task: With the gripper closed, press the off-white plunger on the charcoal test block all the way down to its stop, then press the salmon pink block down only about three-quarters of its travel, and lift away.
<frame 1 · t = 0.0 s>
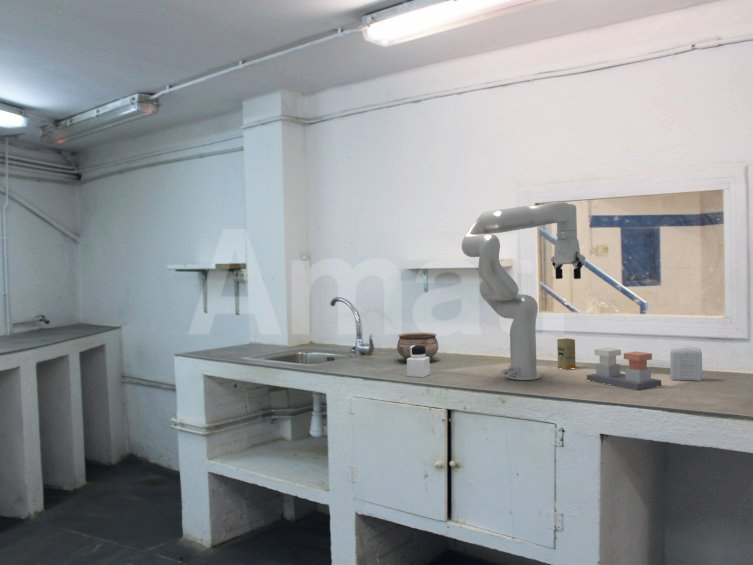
hand: (568, 278, 247), 37 cm above the countertop, tool pointing down, fingers open, 9 cm apart
shoe polish box: (566, 369, 254), on the countertop
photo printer: (686, 380, 223), on the countertop
salmon pink block: (637, 362, 215), point 8 cm above the countertop, slide at 0.0 cm
medicine bottle: (418, 376, 249), on the countertop
white plunger: (607, 357, 227), point 8 cm above the countertop, slide at 0.0 cm
cooking pot: (418, 361, 286), on the countertop
test block: (622, 383, 221), on the countertop
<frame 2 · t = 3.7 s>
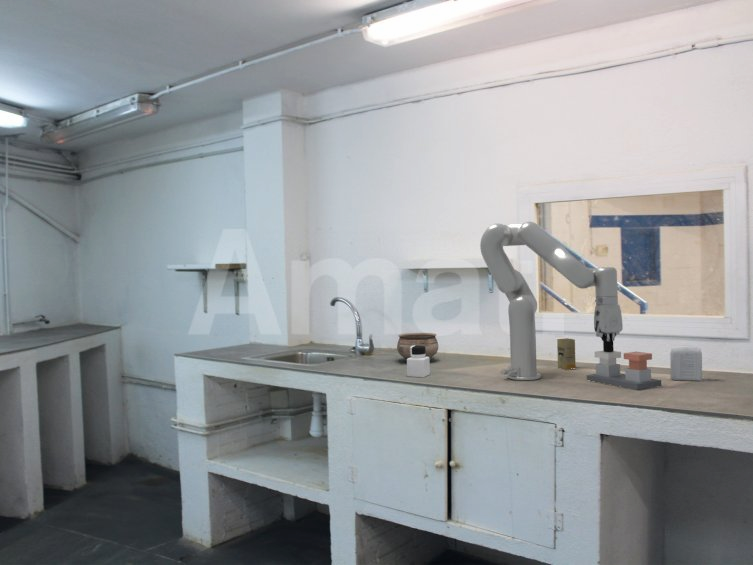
hand: (608, 351, 226), 10 cm above the countertop, tool pointing down, fingers closed
white plunger: (607, 360, 227), point 7 cm above the countertop, slide at 0.9 cm, touching gripper
everything else where it was.
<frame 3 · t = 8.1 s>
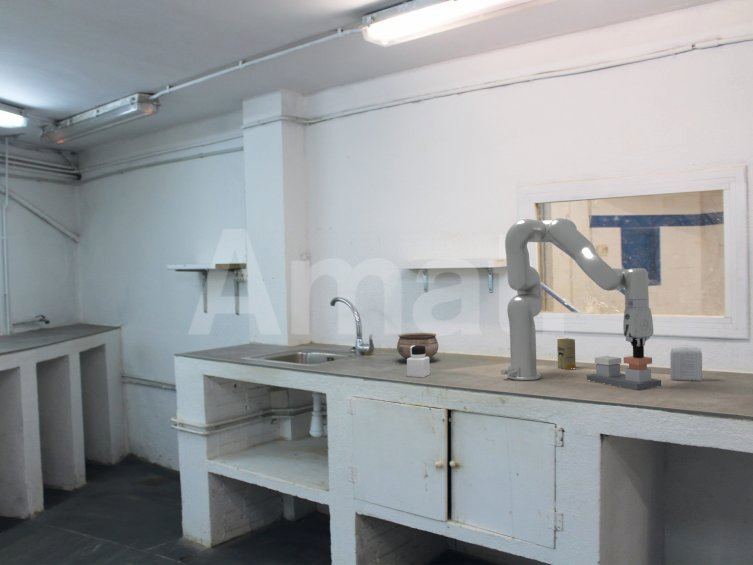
hand: (638, 357, 215), 10 cm above the countertop, tool pointing down, fingers closed
salmon pink block: (637, 366, 215), point 7 cm above the countertop, slide at 1.4 cm, touching gripper
white plunger: (607, 366, 227), point 5 cm above the countertop, slide at 3.0 cm
everything else where it was.
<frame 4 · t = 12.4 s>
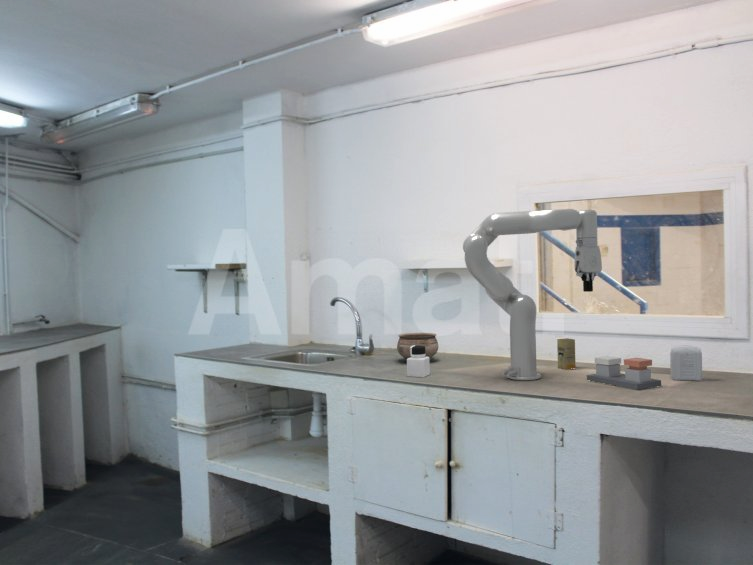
hand: (588, 291, 236), 32 cm above the countertop, tool pointing down, fingers closed
salmon pink block: (637, 368, 215), point 6 cm above the countertop, slide at 2.1 cm
everything else where it was.
at the end: white plunger slide at 3.0 cm; salmon pink block slide at 2.1 cm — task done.
